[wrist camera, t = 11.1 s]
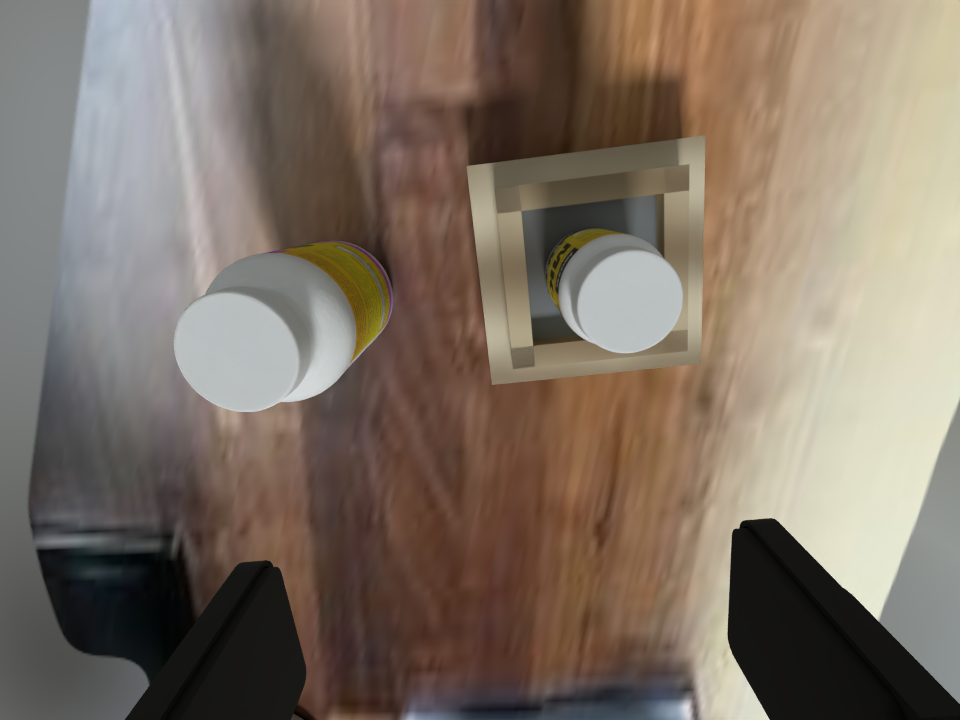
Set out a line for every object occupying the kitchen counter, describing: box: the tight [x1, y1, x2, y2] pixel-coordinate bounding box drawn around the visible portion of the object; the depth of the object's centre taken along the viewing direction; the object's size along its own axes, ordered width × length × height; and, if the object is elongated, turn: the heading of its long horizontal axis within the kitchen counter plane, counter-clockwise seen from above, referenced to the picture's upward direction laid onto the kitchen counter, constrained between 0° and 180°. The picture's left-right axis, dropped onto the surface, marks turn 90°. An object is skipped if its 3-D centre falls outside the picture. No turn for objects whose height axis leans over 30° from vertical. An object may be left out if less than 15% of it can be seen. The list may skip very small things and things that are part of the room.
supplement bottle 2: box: [545, 228, 683, 353], centre depth 22 cm, size 5×5×8 cm
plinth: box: [467, 136, 705, 385], centre depth 27 cm, size 12×12×4 cm
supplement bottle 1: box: [174, 241, 393, 412], centre depth 24 cm, size 7×7×13 cm
